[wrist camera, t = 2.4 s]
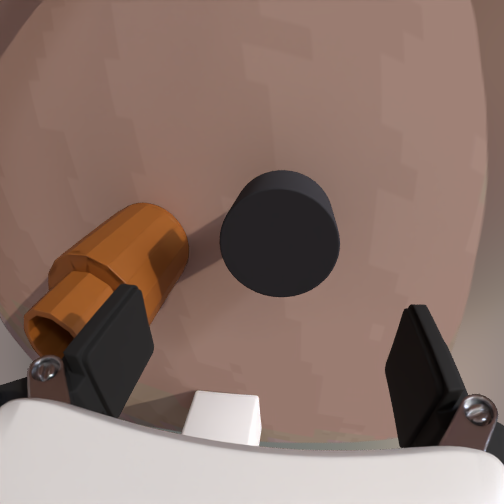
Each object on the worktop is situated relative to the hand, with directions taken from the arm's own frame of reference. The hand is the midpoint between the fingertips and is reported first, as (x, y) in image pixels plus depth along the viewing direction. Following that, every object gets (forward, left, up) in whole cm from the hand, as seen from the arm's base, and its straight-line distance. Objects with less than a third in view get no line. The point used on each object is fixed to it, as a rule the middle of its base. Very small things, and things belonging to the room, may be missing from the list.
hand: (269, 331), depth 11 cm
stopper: (0, 0, -13) cm, 13 cm away
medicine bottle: (+25, -5, -14) cm, 29 cm away
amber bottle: (+4, -11, -13) cm, 18 cm away
